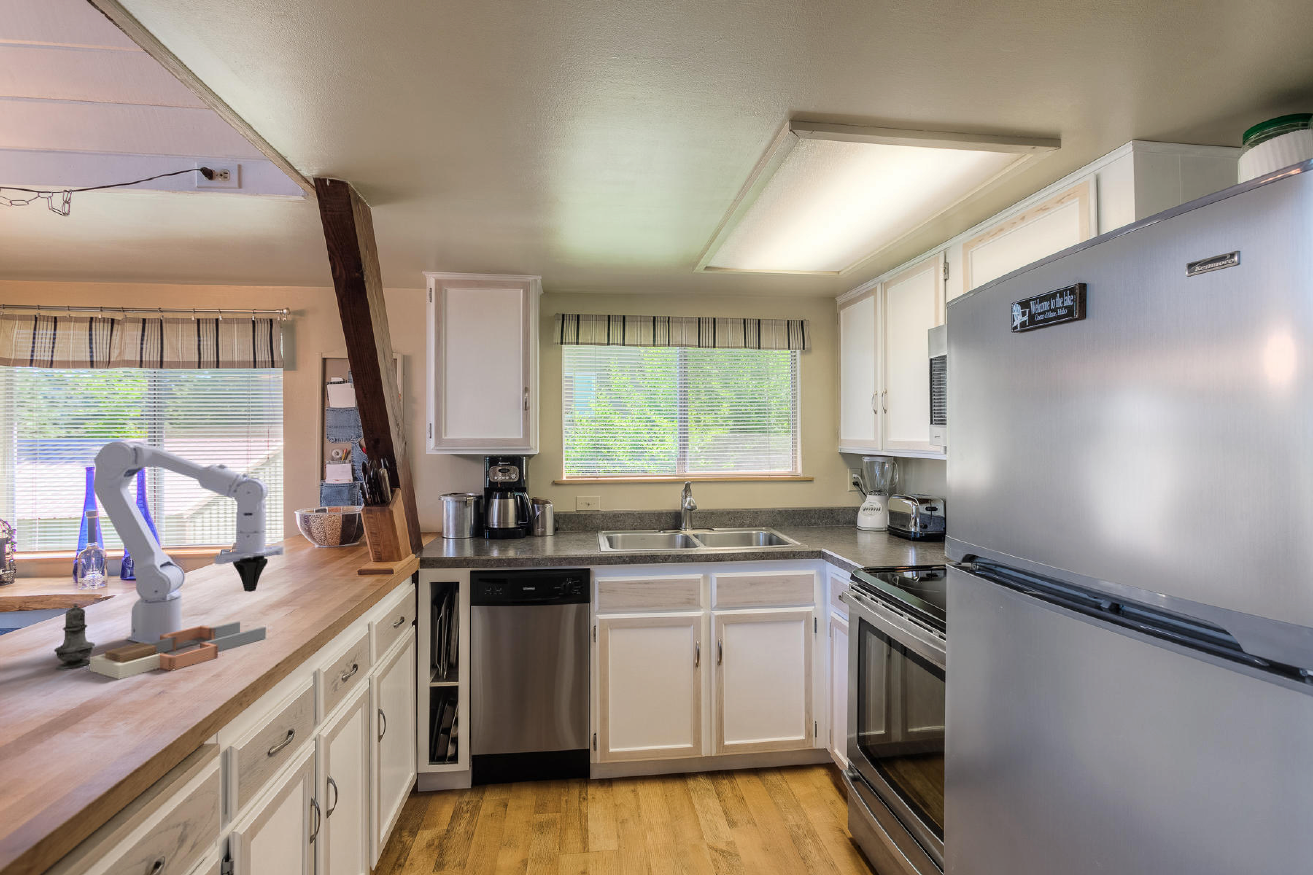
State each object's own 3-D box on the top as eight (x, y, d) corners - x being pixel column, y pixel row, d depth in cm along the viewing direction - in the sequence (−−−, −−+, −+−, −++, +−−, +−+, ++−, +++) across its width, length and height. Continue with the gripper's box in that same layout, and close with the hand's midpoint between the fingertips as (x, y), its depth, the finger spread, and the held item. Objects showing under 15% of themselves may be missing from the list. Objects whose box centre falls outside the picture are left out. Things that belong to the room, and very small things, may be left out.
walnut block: (104, 672, 123) (105, 651, 123) (140, 662, 128) (141, 642, 128) (120, 676, 121) (120, 655, 121) (155, 666, 126) (156, 645, 126)
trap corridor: (79, 667, 125) (80, 654, 125) (227, 630, 150) (227, 619, 150) (130, 682, 117) (130, 668, 117) (276, 640, 142) (276, 629, 142)
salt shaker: (70, 671, 122) (71, 608, 122) (45, 669, 123) (46, 606, 124) (102, 661, 128) (103, 600, 128) (78, 659, 129) (79, 598, 129)
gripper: (229, 536, 140) (228, 599, 140) (292, 528, 154) (291, 586, 154) (209, 534, 143) (208, 595, 143) (272, 526, 157) (271, 583, 157)
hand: (249, 590), depth 149 cm, fingers closed
